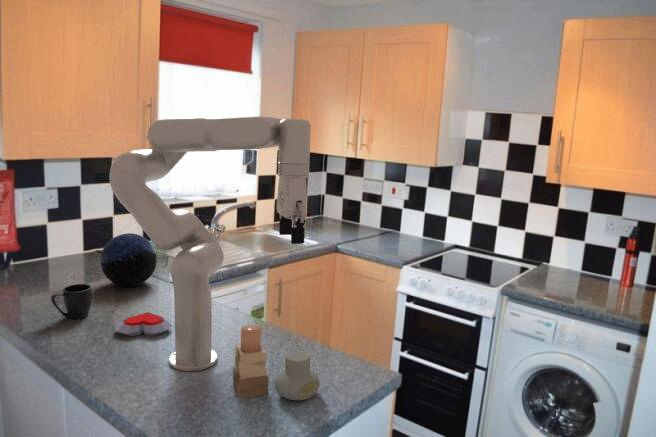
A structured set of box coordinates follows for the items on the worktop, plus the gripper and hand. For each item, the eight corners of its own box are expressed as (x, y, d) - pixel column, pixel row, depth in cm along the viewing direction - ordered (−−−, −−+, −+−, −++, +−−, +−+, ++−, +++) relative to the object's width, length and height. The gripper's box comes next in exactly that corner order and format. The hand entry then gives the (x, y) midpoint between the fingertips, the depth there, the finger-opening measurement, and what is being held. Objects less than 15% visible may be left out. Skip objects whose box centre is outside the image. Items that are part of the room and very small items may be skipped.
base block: (233, 385, 132) (233, 366, 131) (260, 381, 135) (260, 362, 134) (239, 399, 126) (239, 379, 125) (267, 394, 128) (268, 375, 128)
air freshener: (302, 381, 136) (304, 344, 134) (324, 394, 130) (326, 356, 128) (268, 394, 128) (269, 356, 126) (289, 409, 122) (291, 369, 120)
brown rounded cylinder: (238, 345, 129) (239, 326, 128) (258, 343, 131) (258, 324, 130) (243, 353, 125) (243, 333, 124) (262, 351, 127) (263, 331, 126)
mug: (47, 318, 167) (45, 289, 165) (86, 309, 176) (84, 282, 174) (57, 326, 162) (56, 296, 160) (97, 316, 170) (95, 288, 169)
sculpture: (121, 320, 169) (110, 340, 154) (121, 309, 168) (109, 328, 154) (176, 319, 172) (170, 338, 157) (176, 308, 171) (169, 326, 156)
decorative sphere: (130, 274, 215) (129, 226, 211) (168, 283, 206) (167, 233, 203) (89, 287, 197) (87, 235, 193) (129, 297, 189) (127, 243, 185)
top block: (235, 367, 131) (235, 344, 130) (258, 364, 133) (259, 342, 132) (240, 379, 125) (241, 355, 124) (265, 375, 128) (265, 352, 126)
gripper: (269, 166, 135) (267, 232, 139) (289, 174, 120) (287, 248, 123) (296, 166, 138) (294, 230, 141) (320, 174, 122) (317, 246, 126)
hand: (291, 238), depth 132 cm, fingers open, 9 cm apart
